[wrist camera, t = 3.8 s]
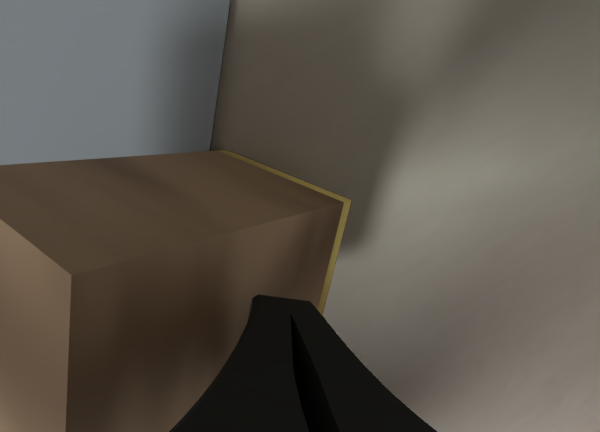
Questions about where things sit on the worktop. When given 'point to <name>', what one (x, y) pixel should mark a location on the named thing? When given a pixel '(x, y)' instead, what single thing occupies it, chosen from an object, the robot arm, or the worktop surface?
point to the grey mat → (108, 77)
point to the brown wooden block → (144, 280)
